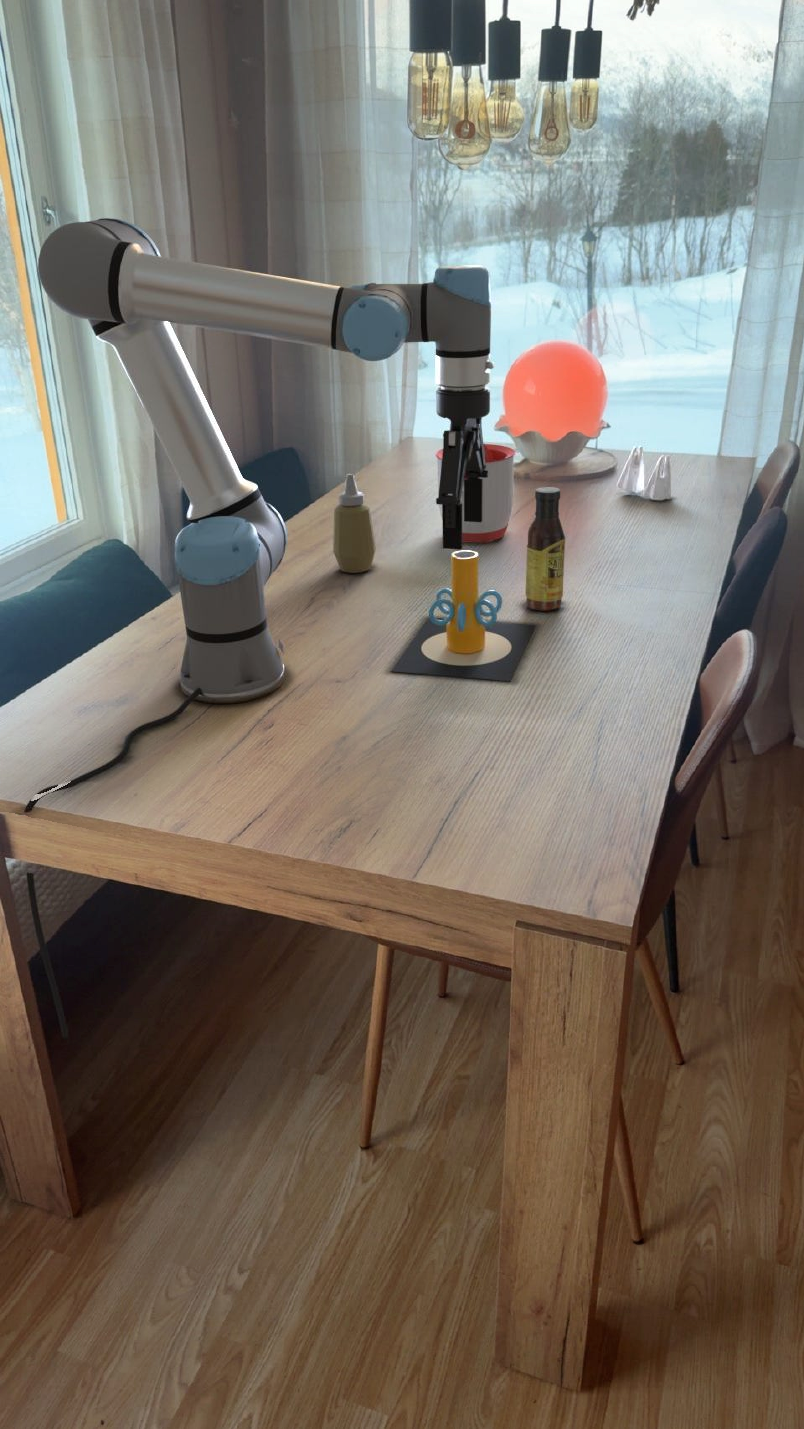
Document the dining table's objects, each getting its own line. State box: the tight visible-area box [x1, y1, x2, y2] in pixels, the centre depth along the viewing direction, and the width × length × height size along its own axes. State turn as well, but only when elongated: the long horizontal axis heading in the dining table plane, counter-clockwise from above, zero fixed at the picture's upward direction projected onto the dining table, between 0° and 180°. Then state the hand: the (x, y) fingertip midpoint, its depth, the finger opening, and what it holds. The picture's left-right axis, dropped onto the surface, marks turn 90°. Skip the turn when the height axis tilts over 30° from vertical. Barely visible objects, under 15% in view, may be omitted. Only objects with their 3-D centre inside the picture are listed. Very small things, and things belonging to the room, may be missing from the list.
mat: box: [390, 617, 536, 683], centre depth 164 cm, size 22×18×1 cm
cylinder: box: [428, 549, 503, 654], centre depth 161 cm, size 12×10×15 cm
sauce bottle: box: [525, 486, 566, 612], centre depth 175 cm, size 6×6×20 cm
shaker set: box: [616, 445, 672, 501], centre depth 234 cm, size 12×4×11 cm, turn 51°
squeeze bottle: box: [332, 473, 377, 574], centre depth 196 cm, size 8×8×18 cm
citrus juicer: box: [435, 442, 516, 544], centre depth 210 cm, size 16×17×20 cm
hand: (463, 534), depth 156 cm, fingers open, 13 cm apart
